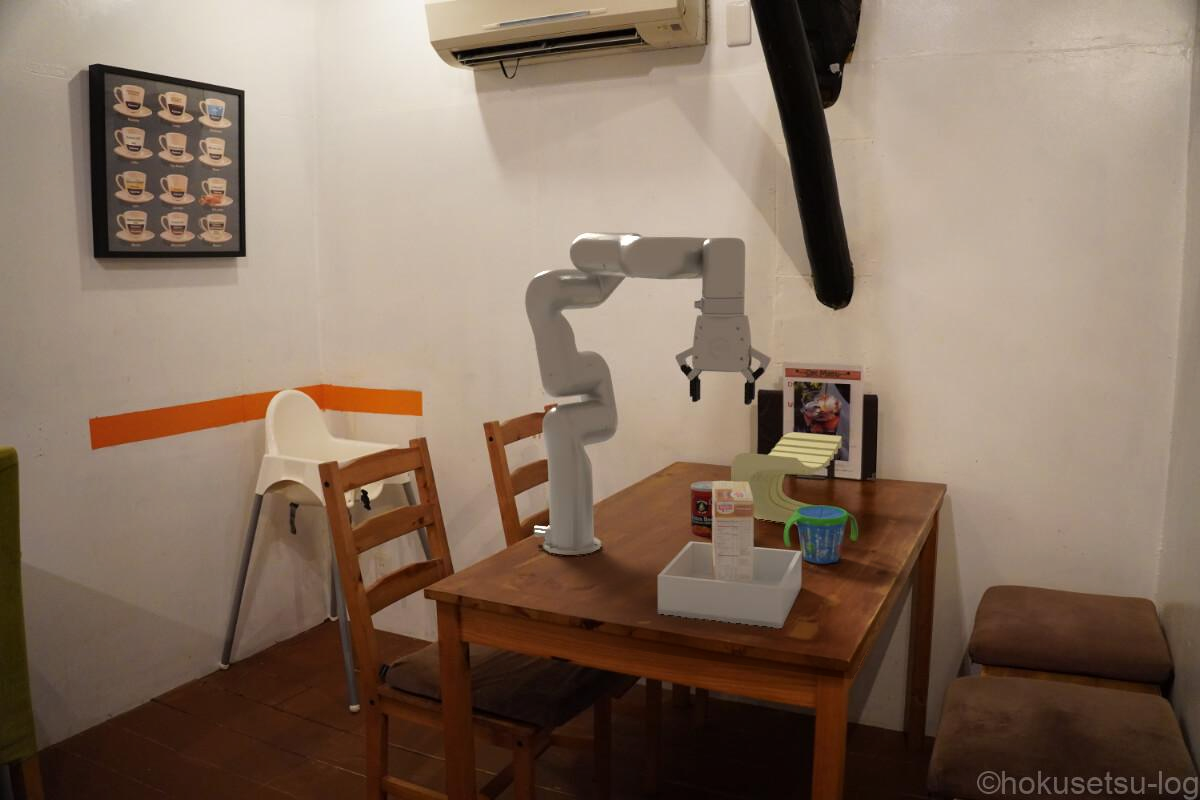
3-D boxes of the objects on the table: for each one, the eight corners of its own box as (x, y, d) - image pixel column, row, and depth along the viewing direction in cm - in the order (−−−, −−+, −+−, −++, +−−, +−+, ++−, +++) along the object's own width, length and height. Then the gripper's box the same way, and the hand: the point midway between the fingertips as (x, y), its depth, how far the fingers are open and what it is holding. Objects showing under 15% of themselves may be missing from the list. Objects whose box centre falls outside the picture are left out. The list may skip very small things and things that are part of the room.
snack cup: (791, 569, 188) (791, 519, 186) (776, 553, 198) (776, 506, 197) (866, 565, 189) (868, 516, 188) (848, 550, 200) (849, 503, 198)
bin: (657, 614, 165) (657, 575, 164) (690, 575, 185) (689, 541, 184) (781, 628, 157) (781, 588, 156) (801, 587, 177) (801, 551, 176)
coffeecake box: (711, 580, 179) (711, 480, 176) (749, 581, 178) (750, 480, 175) (713, 609, 164) (713, 500, 161) (754, 609, 163) (755, 500, 160)
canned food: (685, 534, 213) (685, 486, 212) (698, 525, 220) (698, 479, 219) (717, 538, 210) (717, 490, 208) (729, 529, 217) (729, 482, 215)
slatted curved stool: (780, 498, 244) (781, 431, 242) (840, 506, 236) (841, 436, 233) (730, 526, 219) (731, 451, 217) (795, 535, 211) (796, 457, 208)
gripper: (670, 308, 168) (670, 403, 170) (767, 309, 161) (765, 408, 164) (682, 306, 174) (681, 397, 177) (775, 307, 168) (773, 401, 171)
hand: (721, 402), depth 170 cm, fingers open, 9 cm apart
